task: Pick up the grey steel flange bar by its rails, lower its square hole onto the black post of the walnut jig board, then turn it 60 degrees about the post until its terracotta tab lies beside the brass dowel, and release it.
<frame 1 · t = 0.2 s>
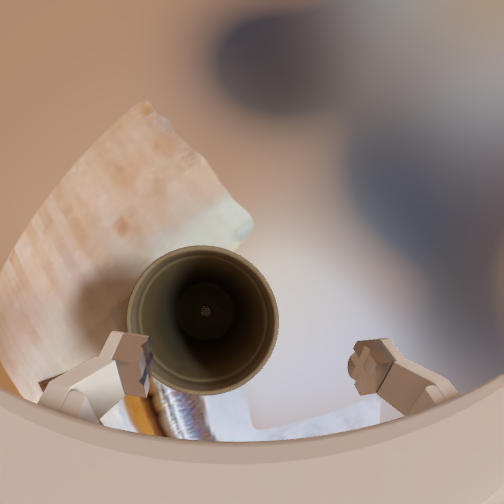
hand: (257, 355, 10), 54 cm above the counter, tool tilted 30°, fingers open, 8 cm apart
plant pot: (205, 312, 62), on the counter
post board: (71, 405, 52), on the counter
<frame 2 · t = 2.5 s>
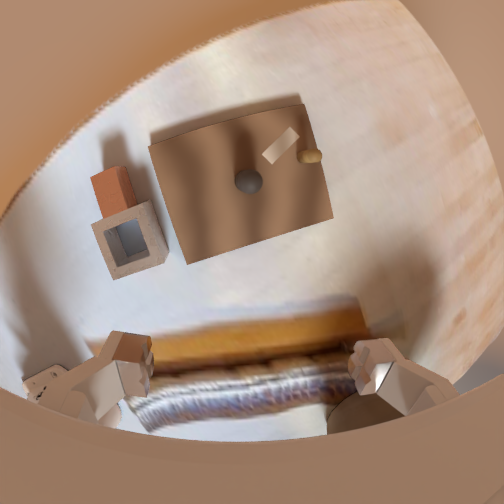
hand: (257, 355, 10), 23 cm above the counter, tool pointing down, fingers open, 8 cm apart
plant pot: (357, 409, 46), on the counter
post board: (243, 180, 30), on the counter
flange: (114, 171, 27), on the counter
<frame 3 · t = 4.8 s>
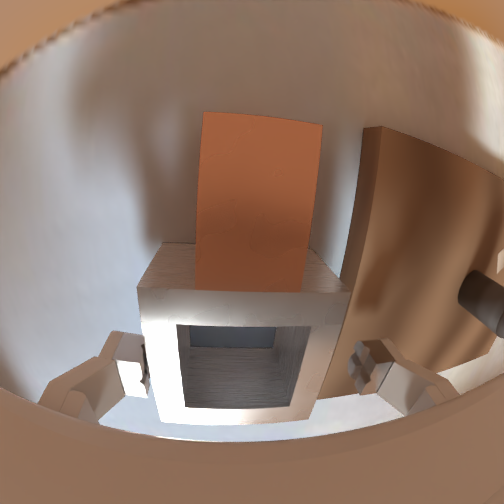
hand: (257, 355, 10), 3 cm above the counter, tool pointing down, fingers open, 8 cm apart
post board: (455, 278, 14), on the counter
flange: (248, 130, 10), on the counter
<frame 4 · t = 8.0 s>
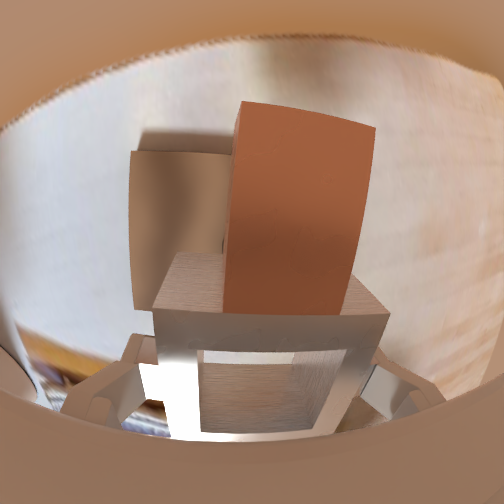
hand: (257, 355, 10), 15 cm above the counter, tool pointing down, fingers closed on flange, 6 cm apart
post board: (236, 238, 23), on the counter
flange: (278, 129, 9), point 13 cm above the counter, touching gripper
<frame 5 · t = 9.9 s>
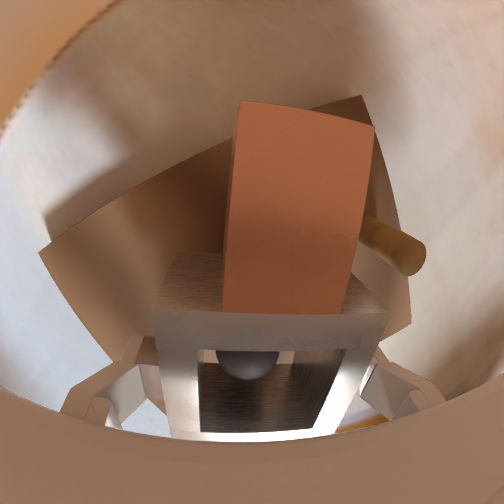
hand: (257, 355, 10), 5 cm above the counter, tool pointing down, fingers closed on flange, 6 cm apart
post board: (239, 286, 15), on the counter
flange: (277, 129, 9), point 3 cm above the counter, touching gripper
when the fingers open (4 cm above the counter, at t = 11.0 s): flange stays where it is, resting on post board.
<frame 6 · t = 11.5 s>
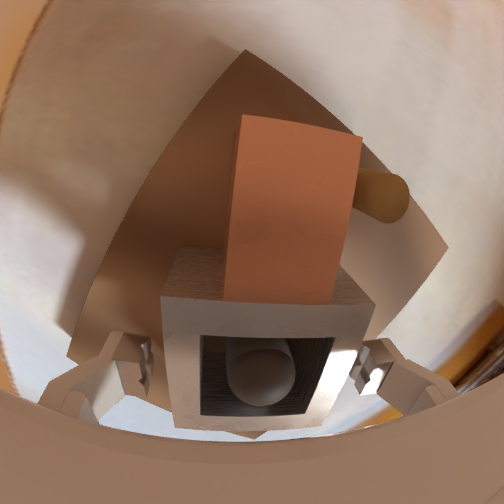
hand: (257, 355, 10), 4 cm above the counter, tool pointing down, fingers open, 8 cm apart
post board: (248, 300, 14), on the counter
flange: (275, 134, 9), point 2 cm above the counter, touching post board
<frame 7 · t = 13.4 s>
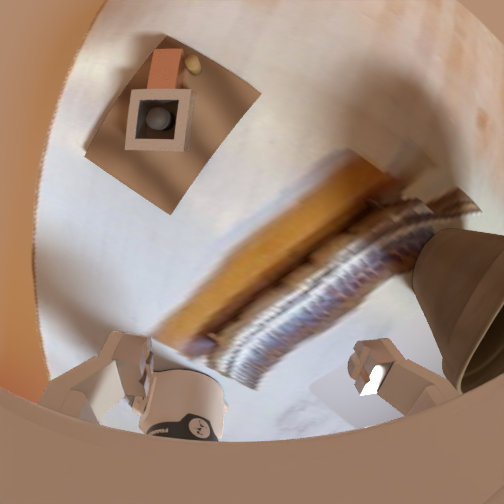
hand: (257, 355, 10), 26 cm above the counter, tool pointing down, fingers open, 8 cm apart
plant pot: (438, 265, 41), on the counter
post board: (167, 121, 29), on the counter
flange: (174, 59, 24), point 2 cm above the counter, touching post board
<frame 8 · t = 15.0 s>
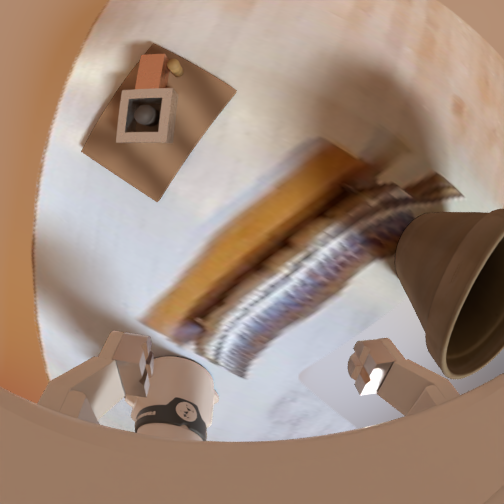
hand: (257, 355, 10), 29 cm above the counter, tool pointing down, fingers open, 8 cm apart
plant pot: (421, 250, 43), on the counter
post board: (154, 119, 32), on the counter
flange: (160, 63, 27), point 2 cm above the counter, touching post board
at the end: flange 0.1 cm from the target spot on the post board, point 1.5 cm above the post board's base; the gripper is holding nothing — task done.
